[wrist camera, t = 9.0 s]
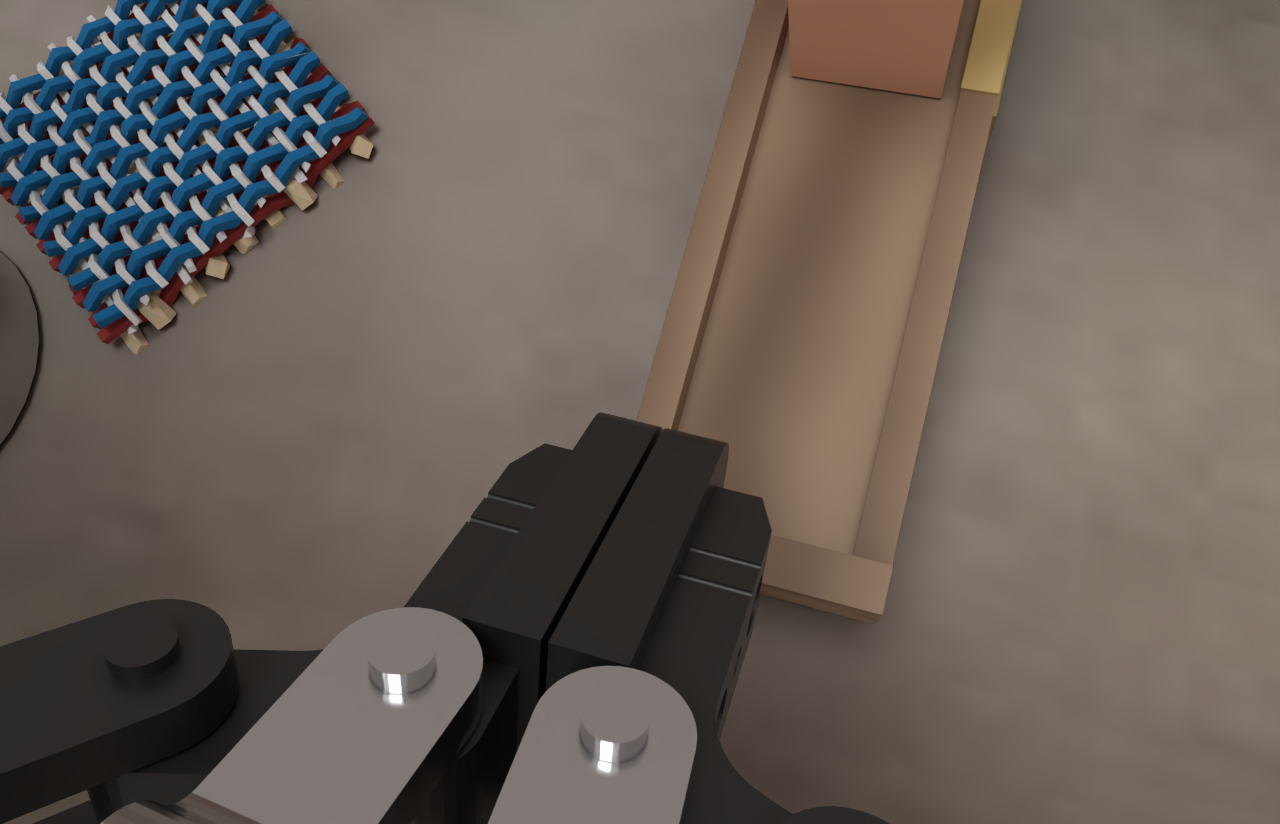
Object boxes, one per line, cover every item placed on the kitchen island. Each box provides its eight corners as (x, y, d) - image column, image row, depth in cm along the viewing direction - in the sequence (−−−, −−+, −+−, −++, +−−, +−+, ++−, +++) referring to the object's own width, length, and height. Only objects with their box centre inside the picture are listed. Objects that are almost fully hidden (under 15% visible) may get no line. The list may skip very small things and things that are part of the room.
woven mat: (-16, 155, 34) (-66, 123, 32) (229, -45, 35) (195, -88, 33) (134, 373, 31) (89, 353, 29) (402, 151, 32) (374, 116, 30)
